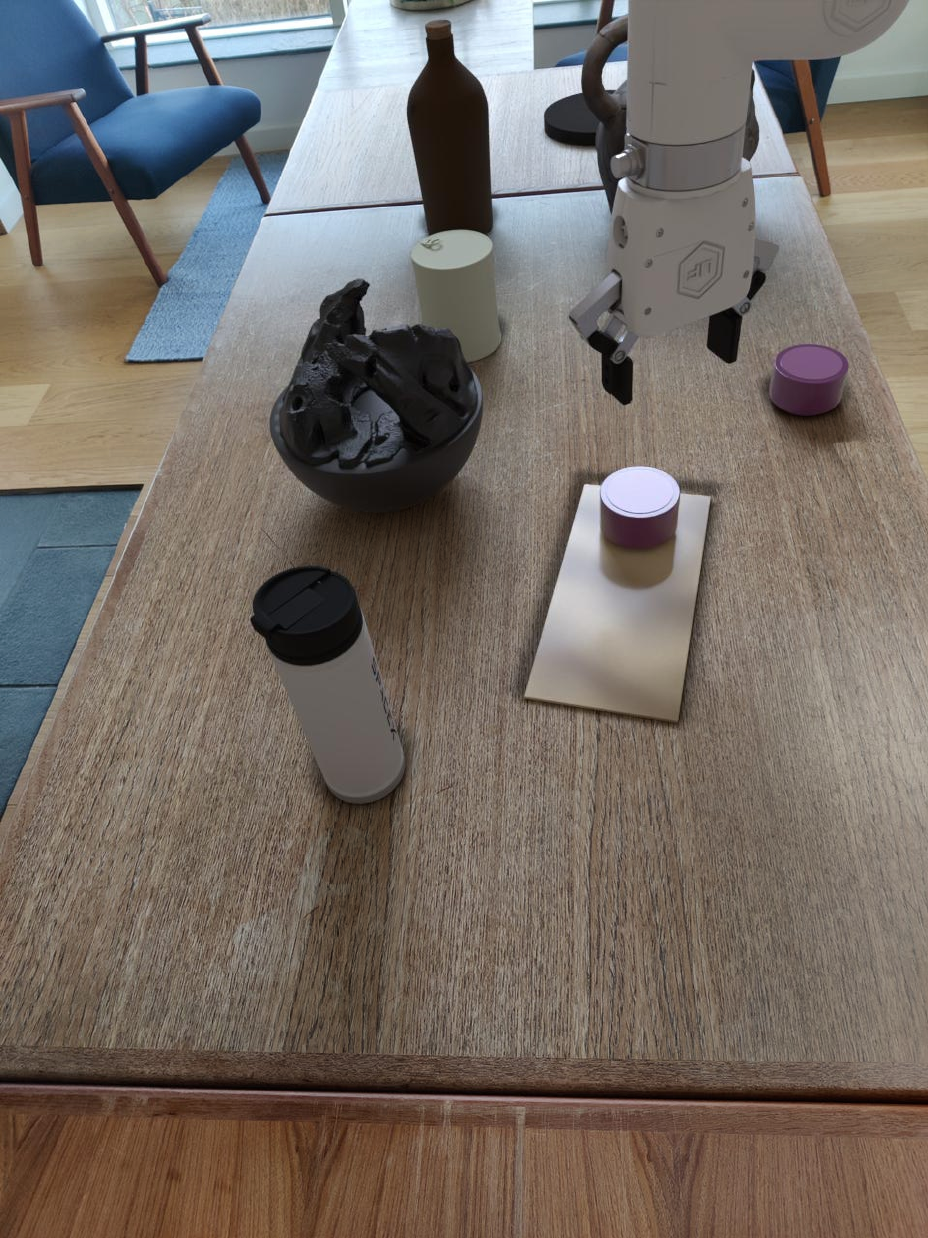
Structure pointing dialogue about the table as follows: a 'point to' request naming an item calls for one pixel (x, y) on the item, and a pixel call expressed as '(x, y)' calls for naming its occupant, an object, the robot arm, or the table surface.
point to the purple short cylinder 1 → (639, 507)
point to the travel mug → (331, 679)
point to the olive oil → (450, 139)
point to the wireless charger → (571, 121)
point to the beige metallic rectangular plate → (621, 617)
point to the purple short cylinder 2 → (808, 379)
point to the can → (459, 289)
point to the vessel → (615, 105)
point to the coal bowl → (376, 409)
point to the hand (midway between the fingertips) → (670, 375)
